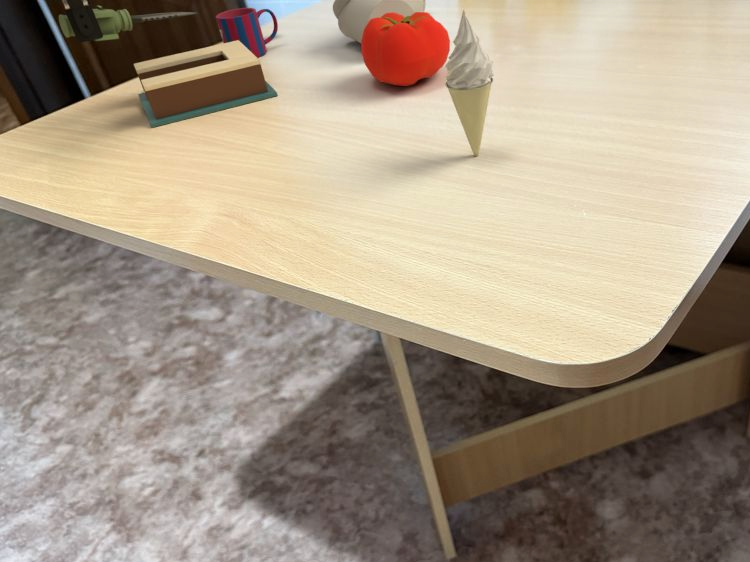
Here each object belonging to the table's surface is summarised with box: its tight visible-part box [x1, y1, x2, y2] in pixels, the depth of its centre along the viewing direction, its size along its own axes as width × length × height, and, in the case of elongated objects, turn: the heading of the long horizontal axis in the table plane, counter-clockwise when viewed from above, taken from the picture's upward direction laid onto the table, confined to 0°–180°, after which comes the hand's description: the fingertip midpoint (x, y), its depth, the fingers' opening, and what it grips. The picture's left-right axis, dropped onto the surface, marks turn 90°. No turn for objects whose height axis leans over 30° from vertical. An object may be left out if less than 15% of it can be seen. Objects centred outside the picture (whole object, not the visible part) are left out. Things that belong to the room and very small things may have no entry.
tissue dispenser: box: [133, 40, 278, 128], centre depth 102 cm, size 18×16×5 cm
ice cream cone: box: [444, 9, 495, 157], centre depth 72 cm, size 5×5×15 cm
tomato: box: [360, 11, 451, 87], centre depth 97 cm, size 14×13×9 cm
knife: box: [58, 5, 199, 42], centre depth 95 cm, size 4×18×5 cm
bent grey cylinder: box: [332, 0, 426, 44], centre depth 115 cm, size 18×11×20 cm
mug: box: [215, 7, 279, 59], centre depth 118 cm, size 7×10×7 cm
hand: (89, 34), depth 93 cm, fingers closed on knife, 5 cm apart
